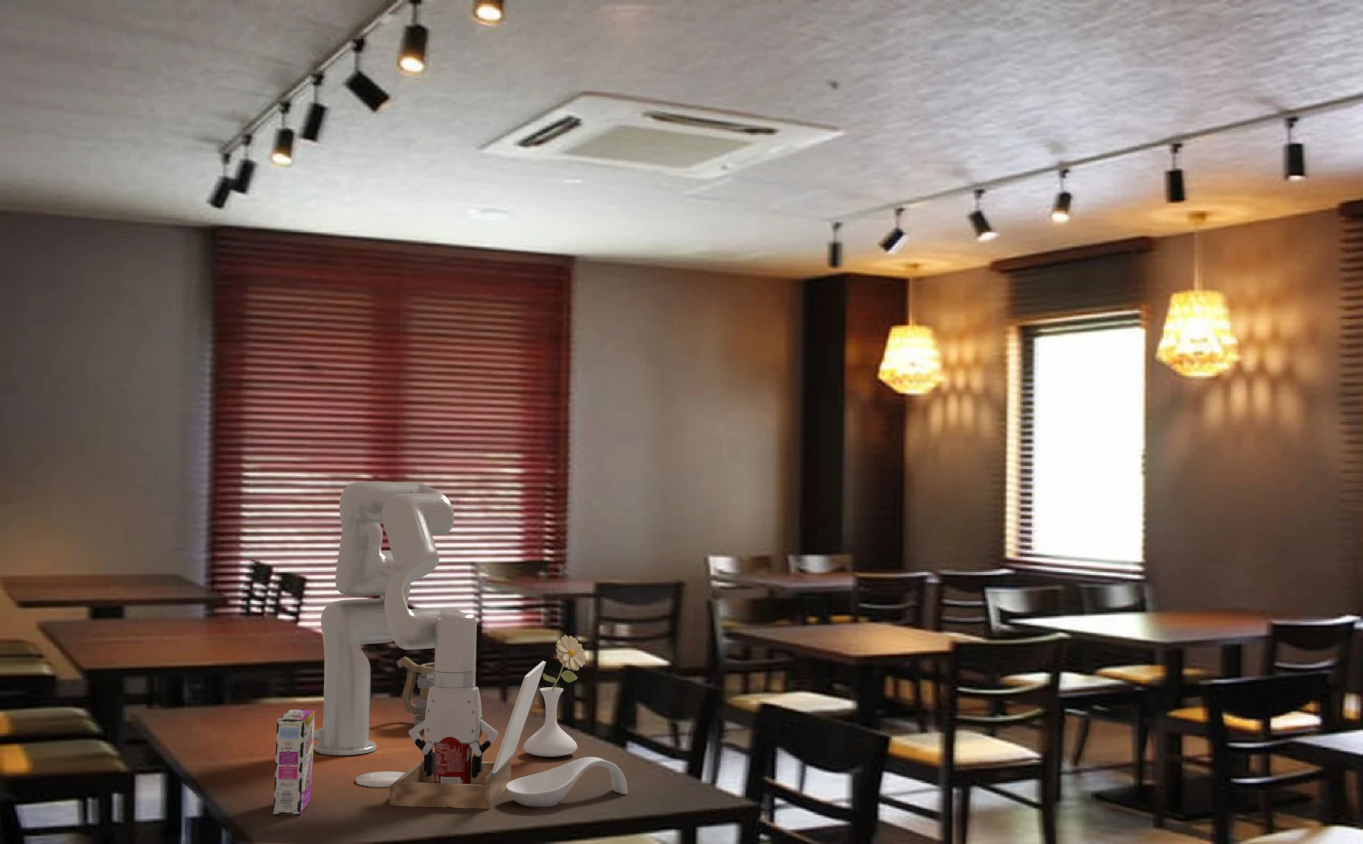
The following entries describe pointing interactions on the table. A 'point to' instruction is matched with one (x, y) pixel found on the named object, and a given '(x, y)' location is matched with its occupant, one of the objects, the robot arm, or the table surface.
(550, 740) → the flower in vase
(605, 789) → the table surface
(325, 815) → the table surface
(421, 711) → the tankard
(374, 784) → the disc
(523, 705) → the lid
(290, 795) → the candy bar box
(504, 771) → the open wooden box
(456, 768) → the soda can
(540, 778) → the spoon rest
